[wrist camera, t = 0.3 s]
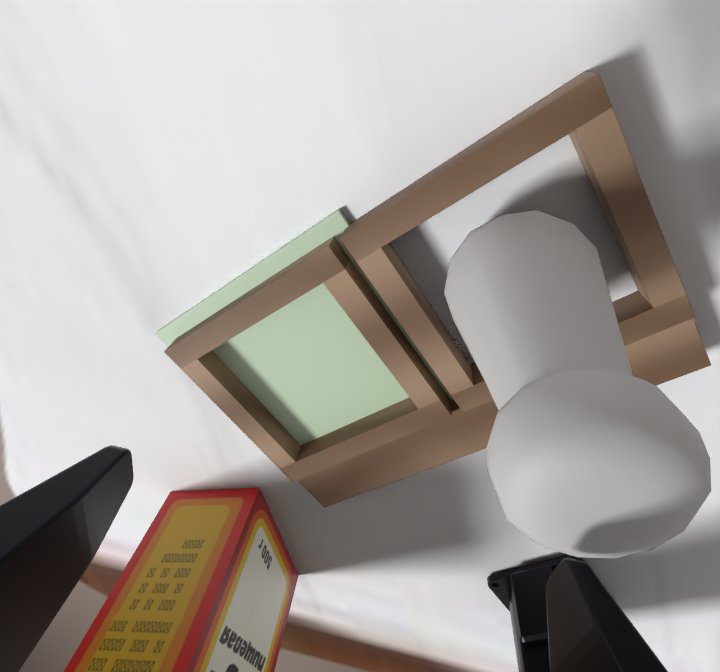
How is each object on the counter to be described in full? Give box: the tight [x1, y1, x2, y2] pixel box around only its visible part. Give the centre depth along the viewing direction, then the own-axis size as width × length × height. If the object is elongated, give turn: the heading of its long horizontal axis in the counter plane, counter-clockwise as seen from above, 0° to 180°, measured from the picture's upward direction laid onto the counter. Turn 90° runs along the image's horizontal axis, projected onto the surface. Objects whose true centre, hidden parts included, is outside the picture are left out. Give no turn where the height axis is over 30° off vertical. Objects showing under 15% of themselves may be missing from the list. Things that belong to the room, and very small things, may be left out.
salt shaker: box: [444, 210, 711, 558], centre depth 15 cm, size 6×6×13 cm
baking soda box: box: [64, 488, 298, 672], centre depth 26 cm, size 10×6×16 cm
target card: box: [155, 209, 453, 445], centre depth 24 cm, size 12×12×1 cm
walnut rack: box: [164, 72, 711, 507], centre depth 22 cm, size 13×21×2 cm, turn 125°
